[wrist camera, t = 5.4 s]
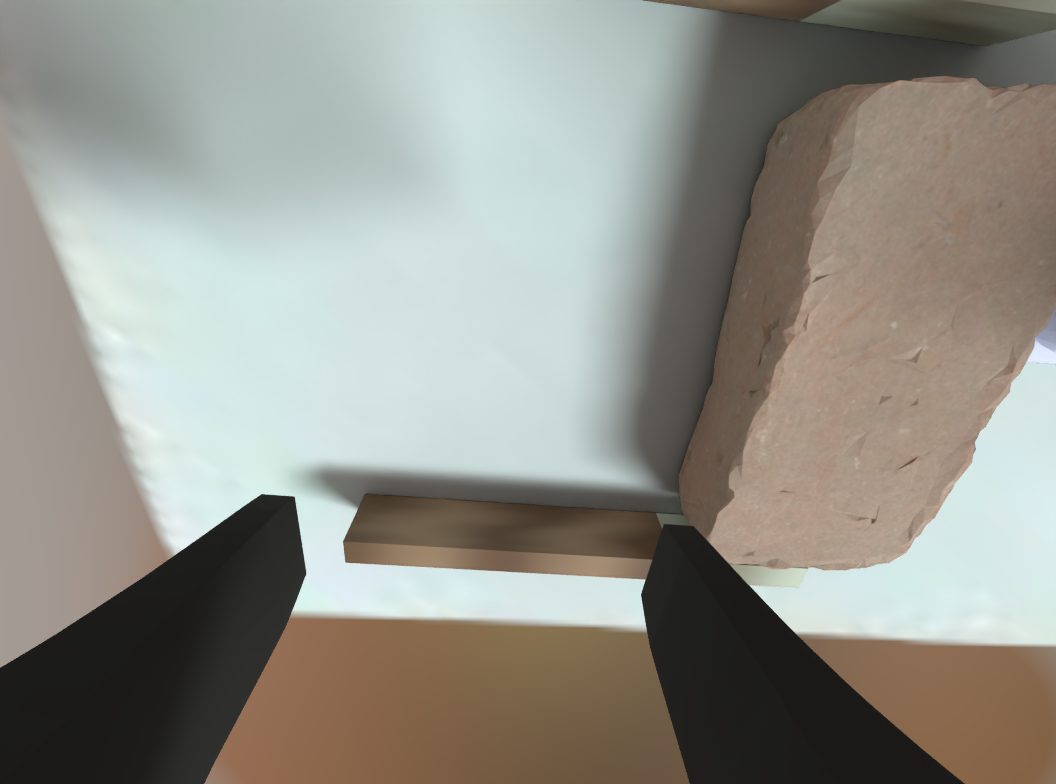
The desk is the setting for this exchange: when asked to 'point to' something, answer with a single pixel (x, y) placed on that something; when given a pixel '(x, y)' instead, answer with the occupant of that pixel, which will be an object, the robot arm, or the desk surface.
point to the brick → (874, 318)
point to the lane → (625, 536)
